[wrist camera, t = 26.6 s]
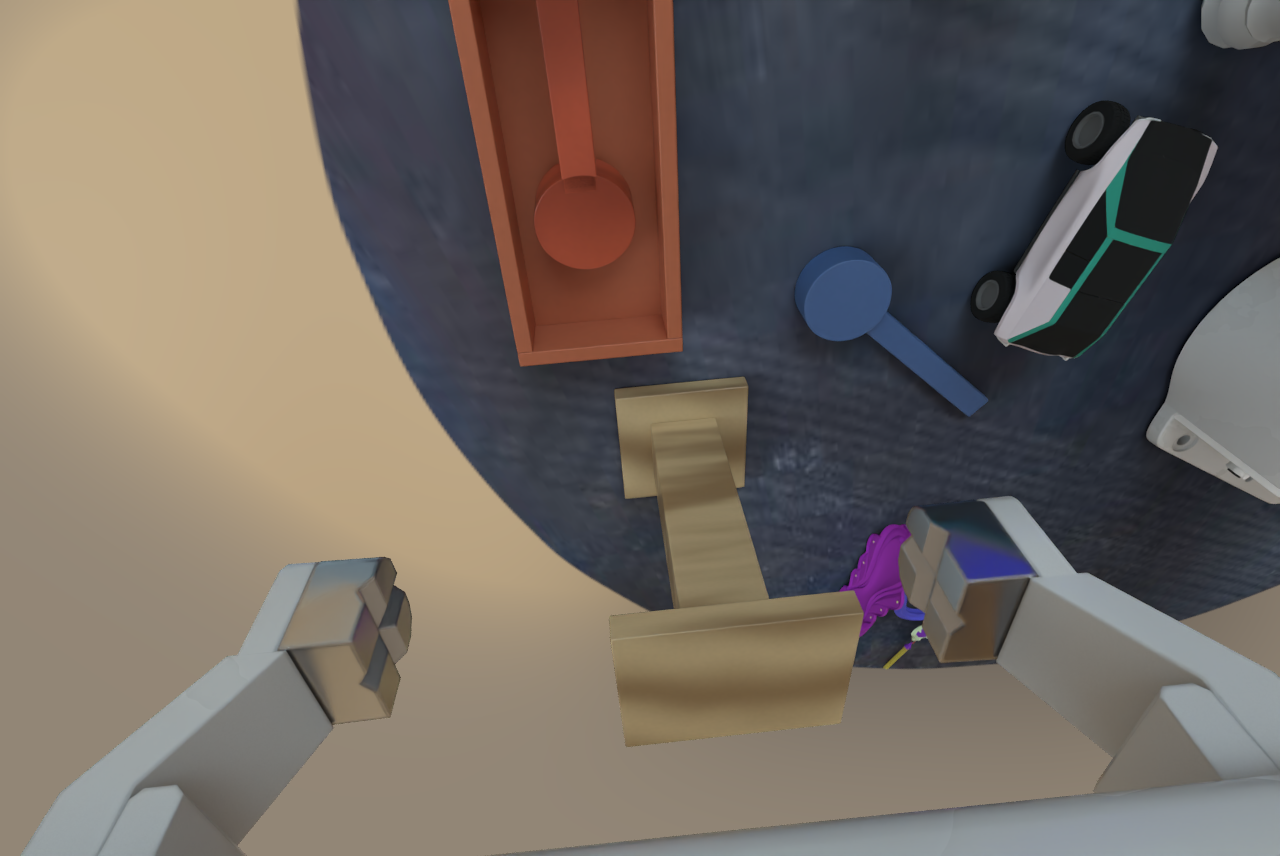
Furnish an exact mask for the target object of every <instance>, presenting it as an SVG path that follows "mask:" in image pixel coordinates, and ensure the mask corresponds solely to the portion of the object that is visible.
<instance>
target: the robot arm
mask: <svg viewBox="0 0 1280 856" xmlns="http://www.w3.org/2000/svg"><path fill="white" fill-rule="evenodd" d="M1146 437H1147V439H1148V440H1149V441H1150V442H1151V443H1153V444H1154V445H1156V446H1157V447H1159V448H1160V449H1162V450H1164V451H1166V452H1168V453H1170V454H1172V455H1174V456H1176V457H1178V458H1180V459H1182V460H1184V461H1186V462H1188V463H1190V464H1192V465H1194V466H1196V467H1198V468H1200V469H1202V470H1204V471H1206V472H1208V473H1210V474H1212V475H1214V476H1216V477H1218V478H1219V479H1221V480H1223V481H1225V482H1227V483H1229V484H1231V485H1233V486H1235V487H1237V488H1239V489H1241V490H1243V491H1245V492H1247V493H1249V494H1251V495H1253V496H1255V497H1257V498H1259V499H1261V500H1263V501H1265V502H1267V503H1270V504H1278V503H1280V258H1278V259H1276V260H1275V261H1273V262H1271V263H1270V264H1268V265H1266V266H1265V267H1263V268H1262V269H1260V270H1259V271H1257V272H1256V273H1254V274H1253V275H1251V276H1250V277H1249V278H1247V279H1246V280H1244V281H1243V282H1242V283H1241V284H1239V285H1238V286H1237V287H1236V288H1234V289H1233V290H1232V291H1231V292H1230V293H1229V294H1227V295H1226V296H1225V297H1224V298H1223V299H1222V300H1221V301H1220V302H1219V303H1218V304H1217V305H1216V306H1215V307H1214V308H1213V309H1212V310H1211V311H1210V312H1209V313H1208V314H1207V315H1206V317H1205V318H1204V319H1203V320H1202V321H1201V322H1200V324H1199V325H1198V326H1197V328H1196V329H1195V330H1194V332H1193V333H1192V334H1191V336H1190V337H1189V339H1188V340H1187V342H1186V344H1185V345H1184V347H1183V349H1182V351H1181V353H1180V355H1179V357H1178V359H1177V361H1176V364H1175V366H1174V369H1173V373H1172V376H1171V381H1170V386H1169V391H1168V395H1167V398H1166V400H1165V403H1164V404H1163V405H1162V407H1161V408H1160V410H1159V411H1158V413H1157V414H1156V416H1155V417H1154V419H1153V420H1152V422H1151V424H1150V426H1149V428H1148V430H1147V433H1146ZM906 526H907V528H908V530H909V531H910V533H911V536H910V537H909V538H908V539H906V540H905V541H904V542H903V543H902V544H901V547H900V552H899V557H898V565H899V576H900V580H901V583H902V586H903V590H904V592H905V594H906V596H907V598H908V600H909V602H910V603H911V604H912V605H914V606H915V607H917V608H918V609H920V610H921V611H922V612H924V613H925V616H924V620H923V623H922V628H923V630H924V632H925V634H926V636H927V638H928V640H929V642H930V644H931V646H932V648H933V650H934V652H935V654H936V656H937V658H938V660H939V662H940V663H948V662H962V661H976V660H990V659H997V660H996V662H997V663H998V664H999V665H1001V666H1002V667H1003V668H1004V669H1005V670H1006V671H1008V672H1009V673H1010V674H1011V675H1013V676H1014V677H1015V678H1016V679H1018V680H1019V681H1020V682H1021V683H1022V684H1024V685H1025V686H1026V687H1027V688H1029V689H1030V690H1031V691H1032V692H1033V693H1035V694H1036V695H1037V696H1038V697H1040V698H1041V699H1042V700H1043V701H1044V702H1046V703H1047V704H1048V705H1049V706H1050V707H1052V708H1053V709H1054V710H1055V711H1057V712H1058V713H1059V714H1060V715H1061V716H1063V717H1064V718H1065V719H1066V720H1067V721H1069V722H1070V723H1071V724H1072V725H1074V726H1075V727H1076V728H1077V729H1078V730H1080V731H1081V732H1082V733H1083V734H1085V735H1086V736H1087V737H1088V738H1089V739H1091V740H1092V741H1093V742H1094V743H1096V744H1097V745H1098V746H1099V747H1100V748H1102V749H1103V750H1104V751H1105V752H1107V753H1108V754H1109V755H1110V756H1111V757H1113V759H1112V761H1111V762H1110V764H1109V765H1108V767H1107V768H1106V769H1105V771H1104V772H1103V774H1102V775H1101V777H1100V778H1099V780H1098V781H1097V784H1096V786H1095V789H1094V792H1095V793H1093V794H1084V795H1074V796H1065V797H1055V798H1045V799H1036V800H1025V801H1016V802H1006V803H997V804H987V805H977V806H967V807H957V808H947V809H938V810H927V811H918V812H908V813H898V814H888V815H879V816H869V817H858V818H849V819H839V820H829V821H819V822H809V823H799V824H791V825H780V826H771V827H760V828H750V829H741V830H731V831H721V832H712V833H702V834H692V835H682V836H672V837H663V838H653V839H644V840H634V841H624V842H614V843H605V844H594V845H585V846H575V847H565V848H555V849H547V850H536V851H526V852H516V853H507V854H498V855H487V856H1280V677H1279V676H1278V675H1277V674H1276V673H1274V672H1273V671H1271V670H1269V669H1267V668H1265V667H1263V666H1261V665H1259V664H1258V663H1256V662H1254V661H1252V660H1250V659H1248V658H1246V657H1244V656H1243V655H1241V654H1239V653H1237V652H1235V651H1233V650H1231V649H1230V648H1228V647H1226V646H1224V645H1222V644H1220V643H1218V642H1216V641H1215V640H1213V639H1210V638H1209V637H1207V636H1205V635H1203V634H1201V633H1199V632H1198V631H1196V630H1194V629H1192V628H1190V627H1188V626H1186V625H1184V624H1183V623H1181V622H1179V621H1177V620H1175V619H1173V618H1171V617H1169V616H1168V615H1166V614H1164V613H1162V612H1160V611H1158V610H1156V609H1154V608H1153V607H1151V606H1149V605H1147V604H1145V603H1143V602H1141V601H1139V600H1138V599H1136V598H1134V597H1132V596H1130V595H1128V594H1126V593H1124V592H1123V591H1121V590H1119V589H1117V588H1115V587H1113V586H1111V585H1109V584H1107V583H1106V582H1104V581H1102V580H1100V579H1098V578H1096V577H1094V576H1092V575H1091V574H1089V573H1076V571H1075V570H1074V569H1073V568H1072V566H1071V565H1070V564H1069V563H1068V561H1067V560H1066V559H1065V558H1064V556H1063V555H1062V554H1061V553H1060V551H1059V550H1058V549H1057V548H1056V546H1055V545H1054V544H1053V543H1052V541H1051V540H1050V539H1049V538H1048V536H1047V535H1046V534H1045V533H1044V531H1043V530H1042V529H1041V528H1040V526H1039V525H1038V524H1037V523H1036V521H1035V520H1034V519H1033V518H1032V516H1031V515H1030V514H1029V513H1028V511H1027V510H1026V509H1025V508H1024V507H1023V505H1022V504H1021V503H1020V502H1019V501H1018V500H1017V499H1015V498H1014V497H1012V496H1004V497H995V498H985V499H978V500H966V501H957V502H947V503H938V504H928V505H919V506H913V508H912V509H911V510H910V511H909V513H908V517H907V521H906ZM396 575H397V572H396V570H395V568H394V565H393V563H392V561H391V559H390V558H386V557H376V558H362V559H348V560H335V561H321V562H315V563H301V564H288V565H287V566H285V567H284V568H283V569H282V570H281V571H280V572H279V573H278V575H277V577H276V579H275V581H274V583H273V585H272V587H271V589H270V591H269V593H268V595H267V597H266V599H265V601H264V603H263V605H262V607H261V609H260V611H259V613H258V615H257V617H256V619H255V621H254V623H253V625H252V627H251V629H250V631H249V633H248V635H247V637H246V639H245V641H244V643H243V645H242V647H241V649H240V651H239V653H238V655H234V656H227V657H226V658H224V659H223V660H222V661H221V662H220V663H218V664H217V665H216V666H215V667H213V668H212V669H211V670H210V671H209V672H207V673H206V674H205V675H204V676H202V677H201V678H200V679H199V680H198V681H196V682H195V683H194V684H193V685H192V686H190V687H189V688H188V689H187V690H185V691H184V692H183V693H182V694H180V695H179V696H178V697H177V698H175V699H174V700H173V701H172V702H171V703H169V704H168V705H167V706H166V707H165V708H163V709H162V710H161V711H160V712H158V713H157V714H156V715H155V716H153V717H152V718H151V719H150V720H149V721H147V722H146V723H145V724H144V725H142V726H141V727H140V728H139V729H138V730H136V731H135V732H134V733H133V734H131V735H130V736H129V737H128V738H127V739H125V740H124V741H123V742H122V743H120V744H119V745H118V746H117V747H115V748H114V749H113V750H112V751H111V752H109V753H108V754H107V755H106V756H105V757H103V758H102V759H101V760H100V761H98V762H97V763H96V764H95V765H93V766H92V767H91V768H90V769H89V770H87V771H86V772H85V773H84V774H82V775H81V776H80V777H79V778H78V779H76V780H75V781H74V782H73V783H71V784H70V785H69V786H68V787H67V788H65V789H64V790H63V791H62V792H61V793H59V795H58V797H57V798H56V800H55V801H54V803H53V805H52V806H51V808H50V809H49V811H48V812H47V814H46V816H45V817H44V819H43V820H42V822H41V824H40V825H39V827H38V828H37V830H36V832H35V833H34V835H33V836H32V838H31V839H30V841H29V843H28V844H27V846H26V848H25V849H24V851H23V853H22V854H21V855H20V856H246V854H245V853H244V852H243V851H242V850H241V849H240V848H239V847H238V846H237V845H238V844H239V843H240V842H241V840H242V839H243V838H244V837H245V835H246V834H247V833H248V832H249V831H250V829H251V828H252V827H253V826H254V825H255V823H256V822H257V821H258V820H259V818H260V817H261V816H262V815H263V814H264V812H265V811H266V810H267V809H268V808H269V806H270V805H271V804H272V803H273V801H274V800H275V799H276V798H277V797H278V795H279V794H280V793H281V791H282V790H283V789H284V788H285V787H286V786H287V784H288V783H289V782H290V780H291V779H292V778H293V777H294V776H295V775H296V773H297V772H298V771H299V770H300V768H301V767H302V766H303V765H304V763H305V762H306V761H307V760H308V759H309V757H310V756H311V755H312V754H313V753H314V751H315V750H316V749H317V748H318V746H319V745H320V744H321V743H322V742H323V740H324V739H325V738H326V737H327V735H328V734H329V733H330V732H331V731H332V729H333V725H334V724H343V723H350V722H358V721H366V720H374V719H382V718H390V717H391V713H392V709H393V705H394V701H395V697H396V694H397V690H398V686H399V682H400V678H401V677H400V675H399V673H398V671H397V668H396V666H395V664H396V663H397V662H398V661H399V660H400V659H401V658H402V656H404V654H406V653H407V651H408V646H409V642H410V638H411V623H412V616H411V610H410V604H409V601H408V599H407V596H406V594H405V592H404V591H402V590H401V589H399V588H397V587H396V586H394V581H395V578H396Z"/></svg>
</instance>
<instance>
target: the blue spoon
mask: <svg viewBox="0 0 1280 856" xmlns="http://www.w3.org/2000/svg"><path fill="white" fill-rule="evenodd" d="M891 297H892V286H891V282H890V279H889V277H888V275H887V273H886V272H885V271H884V270H883V269H882V267H881V266H880V265H879V264H878V263H877V262H876V261H875V260H874V259H873V258H872V257H871V256H870V255H869V254H868V253H866V252H865V251H863V250H861V249H858V248H855V247H848V246H843V247H836V248H832V249H829V250H826V251H824V252H822V253H820V254H819V255H817V256H816V257H815V258H813V259H812V260H811V261H810V262H809V263H808V264H807V265H806V266H805V267H804V269H803V270H802V272H801V273H800V275H799V277H798V280H797V283H796V287H795V302H796V305H797V308H798V310H799V312H800V313H801V315H802V317H803V318H804V320H805V322H806V323H807V325H808V326H809V328H810V329H811V330H812V331H813V332H814V333H815V334H816V335H818V336H819V337H821V338H823V339H827V340H831V341H847V340H851V339H854V338H857V337H860V336H862V335H864V334H865V333H867V334H868V335H869V336H870V337H872V338H873V339H874V340H875V341H876V342H878V343H879V344H880V345H881V346H883V347H884V348H885V349H886V350H887V351H889V352H890V353H891V354H892V355H893V356H895V357H896V358H897V359H898V360H900V361H901V362H902V363H903V364H904V365H906V366H907V367H908V368H909V369H910V370H912V371H913V372H914V373H915V374H917V375H918V376H919V377H920V378H921V379H923V380H924V381H925V382H926V383H928V384H929V385H930V386H931V387H932V388H934V389H935V390H936V391H937V392H938V393H940V394H941V395H942V396H943V397H945V398H946V399H947V400H948V401H949V402H951V403H952V404H953V405H954V406H955V407H957V408H958V409H959V410H960V411H962V412H963V413H964V414H965V415H966V416H968V417H969V416H971V415H972V414H973V413H974V412H976V411H977V410H978V409H979V408H981V407H982V406H983V405H984V404H985V403H987V402H988V399H987V398H986V396H985V395H984V394H983V393H981V392H980V391H979V390H978V389H977V388H976V387H974V386H973V385H972V384H971V383H970V382H969V381H968V380H966V379H965V378H964V377H963V376H962V375H961V374H959V373H958V372H957V371H956V370H955V369H954V368H952V367H951V366H950V365H949V364H948V363H947V362H945V361H944V360H943V359H942V358H941V357H940V356H939V355H937V354H936V353H935V352H934V351H933V350H932V349H930V348H929V347H928V346H927V345H926V344H925V343H923V342H922V341H921V340H920V339H919V338H918V337H916V336H915V335H914V334H913V333H912V332H911V331H910V330H908V329H907V328H906V327H905V326H904V325H903V324H901V323H900V322H899V321H898V320H897V319H896V318H894V317H893V316H892V315H891V314H890V313H889V312H887V310H888V308H889V305H890V302H891Z"/></svg>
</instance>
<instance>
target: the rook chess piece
mask: <svg viewBox="0 0 1280 856" xmlns="http://www.w3.org/2000/svg"><path fill="white" fill-rule="evenodd" d="M1201 29H1202V31H1203V33H1204V34H1205V36H1206V38H1207V40H1208V41H1209V43H1212V44H1214V45H1216V46H1219V47H1221V48H1230V47H1233V48H1236V49H1238V50H1240V49H1248V48H1256V47H1262V46H1266V45H1268V44H1270V43H1272V42H1274V41H1280V0H1203V3H1202V6H1201Z"/></svg>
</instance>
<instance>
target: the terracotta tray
mask: <svg viewBox="0 0 1280 856" xmlns="http://www.w3.org/2000/svg"><path fill="white" fill-rule="evenodd" d="M448 2H449V7H450V12H451V17H452V23H453V28H454V33H455V38H456V43H457V48H458V53H459V58H460V63H461V68H462V73H463V78H464V84H465V89H466V94H467V99H468V104H469V109H470V114H471V119H472V124H473V129H474V134H475V139H476V144H477V150H478V155H479V160H480V165H481V170H482V175H483V180H484V185H485V190H486V195H487V200H488V205H489V210H490V216H491V221H492V226H493V231H494V236H495V241H496V246H497V251H498V256H499V261H500V266H501V271H502V276H503V282H504V287H505V292H506V297H507V302H508V307H509V312H510V317H511V322H512V327H513V332H514V337H515V343H516V348H517V352H518V358H519V363H520V366H531V365H542V364H553V363H563V362H574V361H584V360H595V359H606V358H616V357H627V356H637V355H648V354H658V353H669V352H680V351H683V339H682V303H681V268H680V232H679V196H678V160H677V124H676V89H675V53H674V17H673V0H578V2H579V12H580V21H581V30H582V40H583V49H584V58H585V68H586V77H587V86H588V96H589V105H590V114H591V124H592V133H593V142H594V152H595V159H599V160H601V161H604V162H606V163H608V164H610V165H611V166H612V167H614V168H615V169H616V170H617V171H618V172H619V173H620V174H621V175H622V176H623V177H624V179H625V180H626V182H627V184H628V186H629V188H630V191H631V195H632V200H633V206H634V211H635V218H636V226H635V232H634V236H633V239H632V241H631V243H630V245H629V246H628V248H627V249H626V250H625V252H624V253H623V254H622V255H621V256H620V257H619V258H617V259H616V260H615V261H613V262H611V263H609V264H607V265H605V266H602V267H598V268H593V269H577V268H572V267H569V266H566V265H564V264H562V263H560V262H558V261H556V260H555V259H553V258H552V257H551V256H550V255H549V254H548V253H547V252H546V251H545V250H544V249H543V247H542V246H541V244H540V243H539V241H538V238H537V236H536V233H535V229H534V208H535V196H536V191H537V188H538V185H539V183H540V181H541V180H542V178H543V177H544V175H545V174H546V173H547V172H548V171H549V170H550V169H551V168H552V167H554V166H555V165H557V164H558V163H559V158H558V151H557V144H556V138H555V131H554V124H553V117H552V110H551V103H550V96H549V90H548V83H547V76H546V69H545V62H544V55H543V48H542V42H541V35H540V28H539V21H538V14H537V7H536V0H448Z"/></svg>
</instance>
